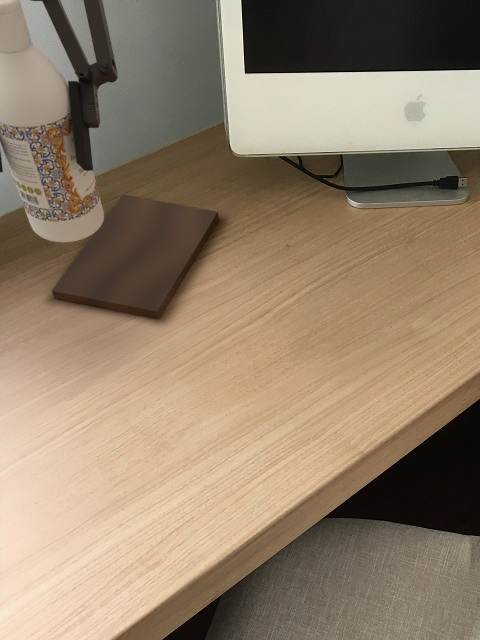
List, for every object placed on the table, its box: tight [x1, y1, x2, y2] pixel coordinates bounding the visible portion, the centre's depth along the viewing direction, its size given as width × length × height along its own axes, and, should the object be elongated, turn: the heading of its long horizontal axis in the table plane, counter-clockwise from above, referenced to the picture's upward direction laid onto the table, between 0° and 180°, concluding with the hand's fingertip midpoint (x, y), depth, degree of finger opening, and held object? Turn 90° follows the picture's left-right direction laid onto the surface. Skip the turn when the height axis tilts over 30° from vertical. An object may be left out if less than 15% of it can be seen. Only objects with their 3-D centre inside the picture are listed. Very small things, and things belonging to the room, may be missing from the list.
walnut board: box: [51, 194, 220, 320], centre depth 96 cm, size 13×20×1 cm, turn 167°
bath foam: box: [0, 0, 105, 243], centre depth 68 cm, size 7×7×20 cm
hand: (39, 167), depth 68 cm, fingers closed on bath foam, 7 cm apart
